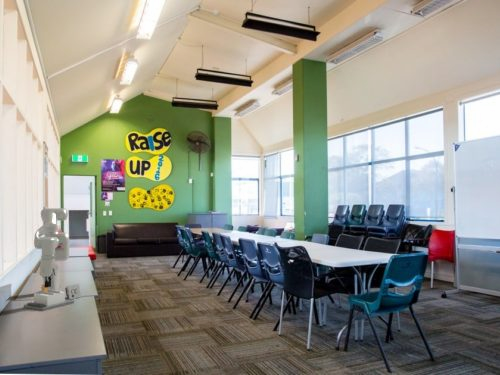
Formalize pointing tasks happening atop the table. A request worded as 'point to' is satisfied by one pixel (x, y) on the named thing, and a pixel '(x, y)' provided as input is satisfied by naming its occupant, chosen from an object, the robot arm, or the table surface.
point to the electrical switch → (73, 291)
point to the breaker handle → (44, 288)
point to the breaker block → (48, 300)
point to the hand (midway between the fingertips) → (47, 287)
